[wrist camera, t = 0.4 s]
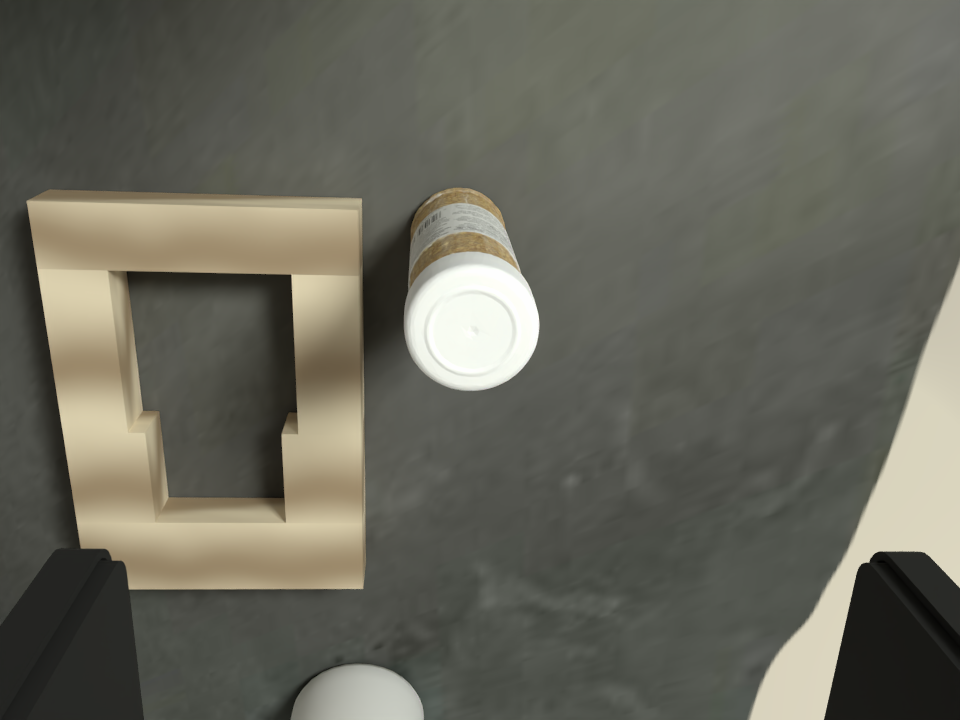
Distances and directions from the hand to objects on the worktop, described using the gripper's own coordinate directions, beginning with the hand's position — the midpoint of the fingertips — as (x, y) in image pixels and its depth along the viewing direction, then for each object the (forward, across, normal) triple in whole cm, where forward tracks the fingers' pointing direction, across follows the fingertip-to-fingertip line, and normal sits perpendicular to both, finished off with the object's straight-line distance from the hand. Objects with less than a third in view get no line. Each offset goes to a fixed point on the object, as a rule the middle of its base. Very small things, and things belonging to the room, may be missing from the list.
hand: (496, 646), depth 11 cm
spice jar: (+32, -1, +2) cm, 32 cm away
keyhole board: (+32, +11, +10) cm, 35 cm away
